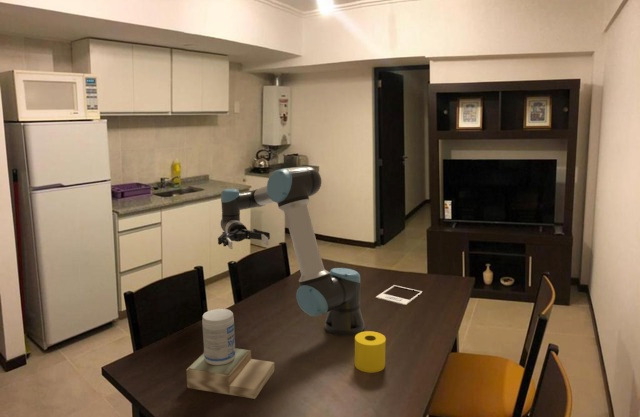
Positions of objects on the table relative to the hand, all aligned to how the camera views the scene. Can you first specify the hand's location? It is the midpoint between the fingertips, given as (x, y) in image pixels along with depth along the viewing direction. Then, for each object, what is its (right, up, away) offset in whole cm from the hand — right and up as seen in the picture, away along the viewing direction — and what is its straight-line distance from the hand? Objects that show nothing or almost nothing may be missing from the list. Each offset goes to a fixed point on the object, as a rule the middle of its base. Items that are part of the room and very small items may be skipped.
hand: (249, 243), depth 178 cm
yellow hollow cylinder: (+43, -39, -19) cm, 61 cm away
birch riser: (-1, -40, -28) cm, 49 cm away
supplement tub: (-5, -34, -28) cm, 44 cm away
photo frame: (+62, -27, +41) cm, 79 cm away
